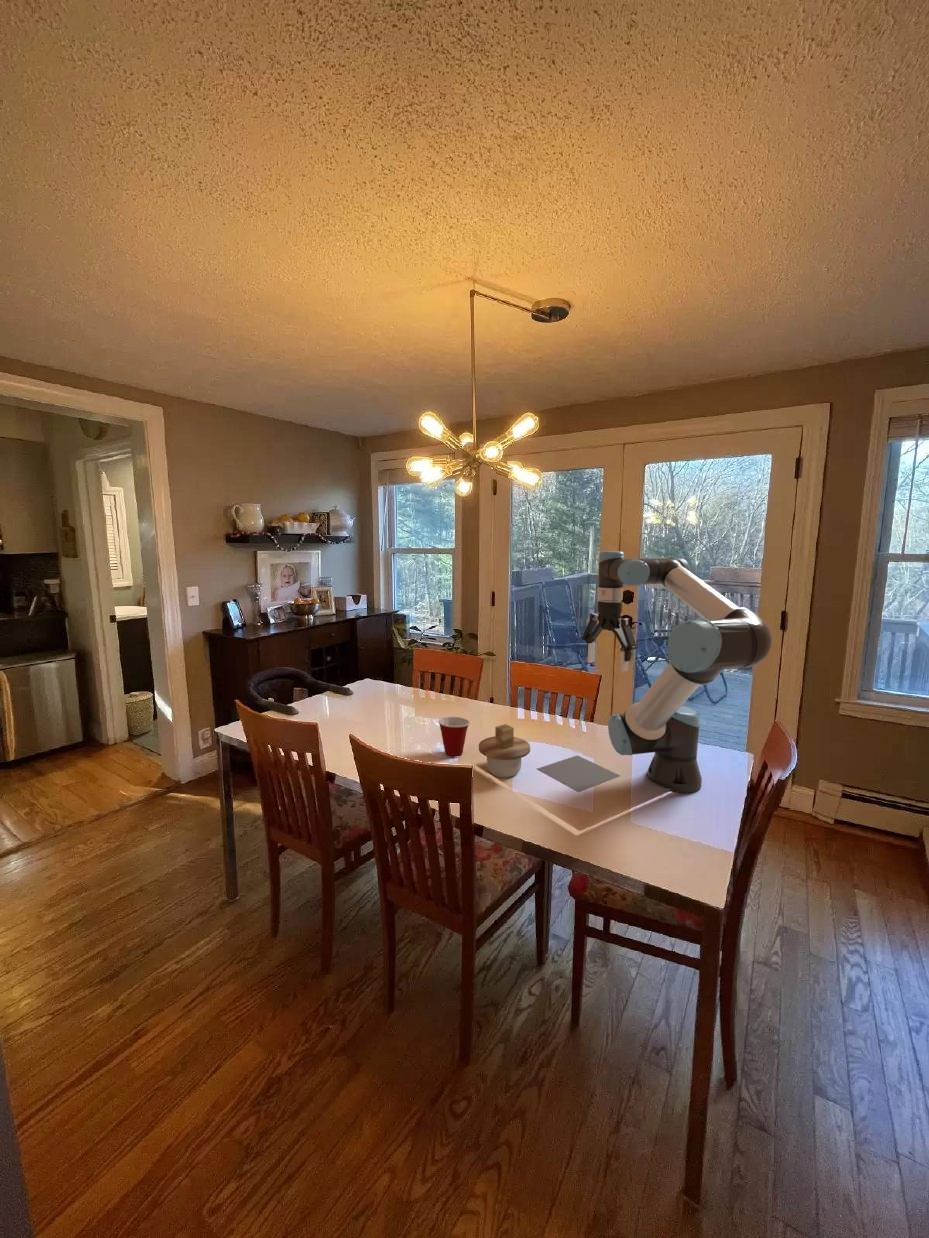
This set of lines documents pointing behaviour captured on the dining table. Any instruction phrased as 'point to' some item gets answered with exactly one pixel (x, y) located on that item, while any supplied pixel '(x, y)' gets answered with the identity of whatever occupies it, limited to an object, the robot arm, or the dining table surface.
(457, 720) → the plastic cup
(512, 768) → the teacup
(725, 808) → the dining table surface
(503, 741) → the lid
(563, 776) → the mat
